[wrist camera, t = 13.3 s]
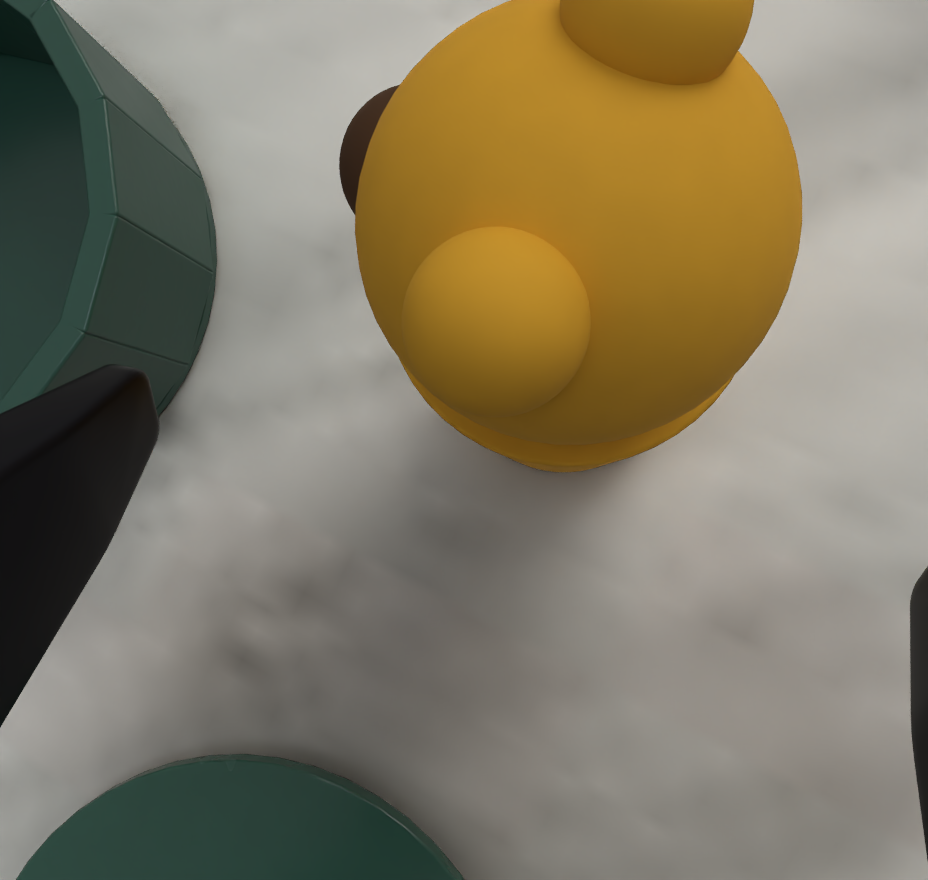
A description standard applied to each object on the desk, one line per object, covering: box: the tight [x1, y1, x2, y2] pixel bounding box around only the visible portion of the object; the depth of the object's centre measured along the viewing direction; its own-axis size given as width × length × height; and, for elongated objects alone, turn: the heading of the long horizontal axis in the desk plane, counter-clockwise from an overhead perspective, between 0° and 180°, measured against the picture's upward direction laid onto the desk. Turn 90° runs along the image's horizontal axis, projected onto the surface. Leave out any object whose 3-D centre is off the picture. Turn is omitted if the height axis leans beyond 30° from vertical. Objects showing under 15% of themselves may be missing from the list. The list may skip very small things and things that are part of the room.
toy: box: [339, 0, 802, 472], centre depth 13 cm, size 5×5×13 cm
